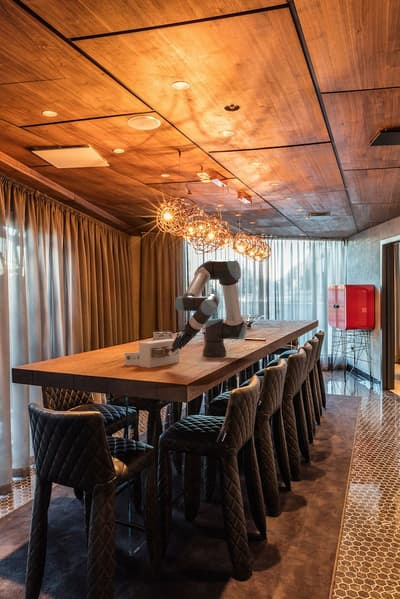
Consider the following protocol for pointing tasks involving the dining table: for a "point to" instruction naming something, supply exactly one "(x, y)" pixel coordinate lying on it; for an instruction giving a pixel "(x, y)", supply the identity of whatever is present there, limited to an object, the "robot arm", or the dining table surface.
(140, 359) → the console
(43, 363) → the dining table surface
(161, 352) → the plunger
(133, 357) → the card
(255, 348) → the dining table surface
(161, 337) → the candy bar box
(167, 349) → the plunger middle
